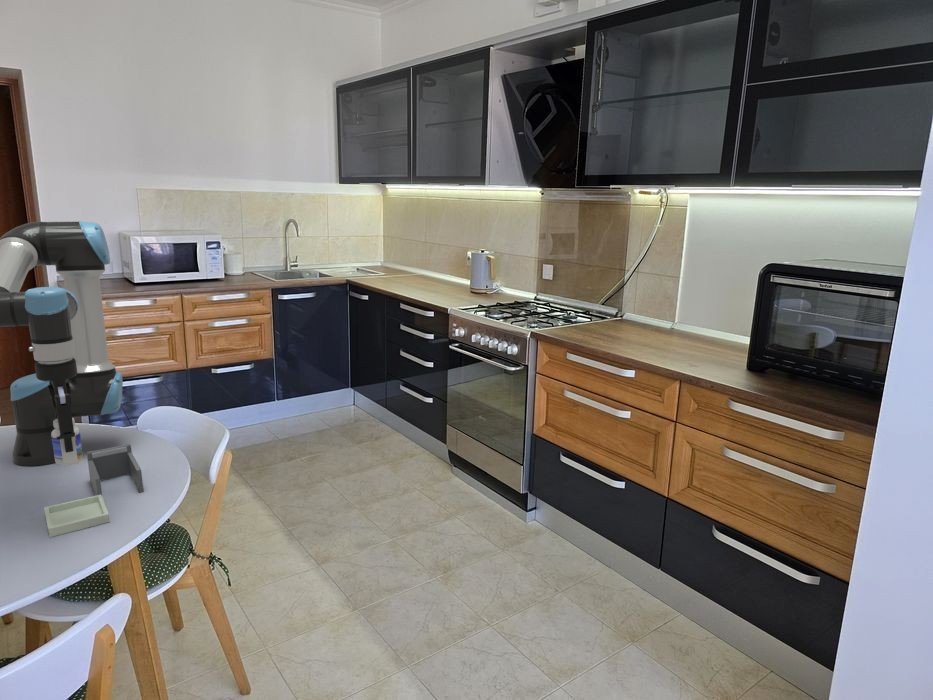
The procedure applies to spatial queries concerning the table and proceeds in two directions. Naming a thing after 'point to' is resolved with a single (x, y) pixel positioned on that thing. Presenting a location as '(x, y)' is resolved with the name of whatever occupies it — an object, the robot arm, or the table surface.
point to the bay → (113, 466)
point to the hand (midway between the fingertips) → (69, 459)
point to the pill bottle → (57, 444)
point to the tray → (76, 515)
